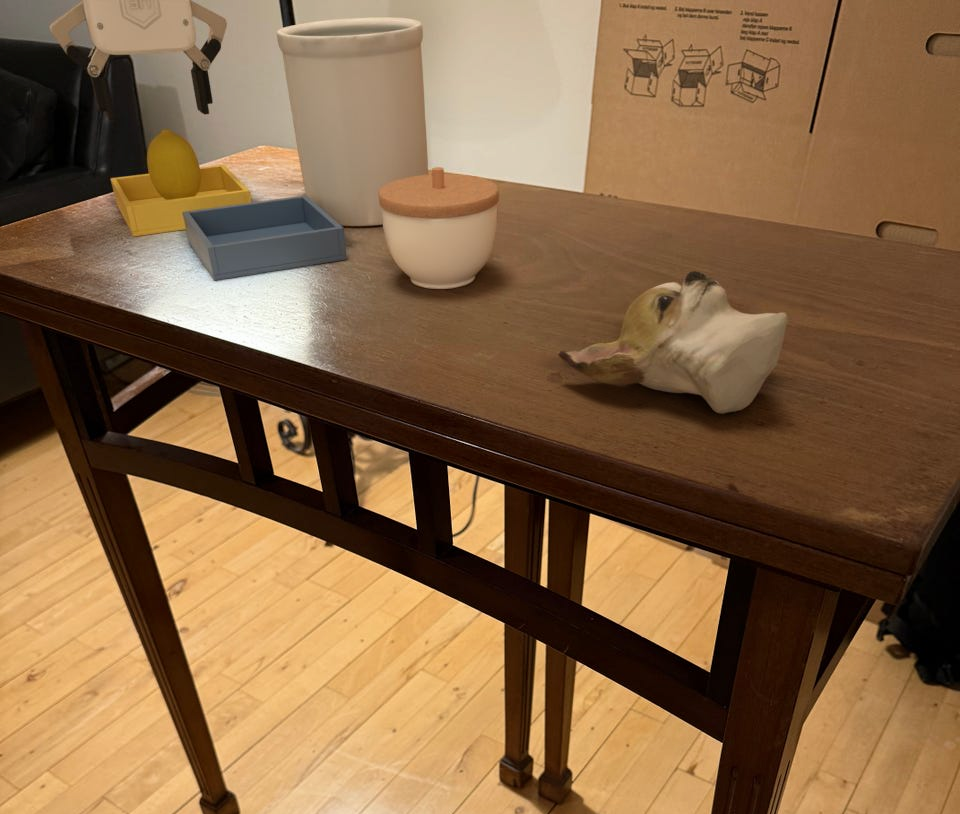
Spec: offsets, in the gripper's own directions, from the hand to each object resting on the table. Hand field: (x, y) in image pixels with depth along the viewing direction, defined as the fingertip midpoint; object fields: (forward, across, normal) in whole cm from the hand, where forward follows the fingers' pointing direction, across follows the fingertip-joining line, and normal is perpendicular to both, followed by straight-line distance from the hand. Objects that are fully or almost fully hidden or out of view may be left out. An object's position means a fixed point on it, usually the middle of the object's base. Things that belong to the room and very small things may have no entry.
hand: (158, 115), depth 97 cm
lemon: (+10, +1, 0) cm, 10 cm away
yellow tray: (+10, +1, 0) cm, 10 cm away
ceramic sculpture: (+10, +25, -64) cm, 69 cm away
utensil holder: (+10, +20, -9) cm, 24 cm away
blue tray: (+10, +6, -18) cm, 21 cm away
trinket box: (+10, +19, -34) cm, 40 cm away
